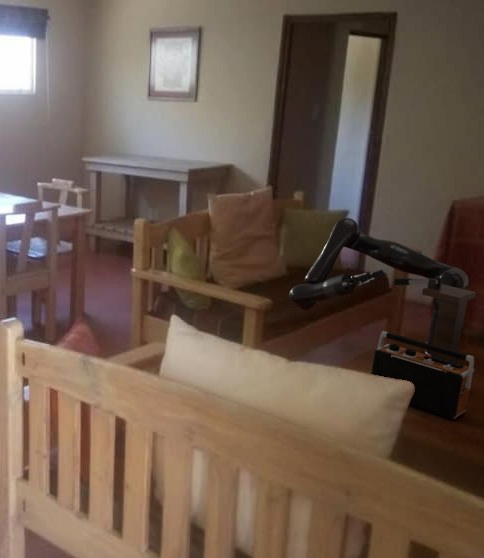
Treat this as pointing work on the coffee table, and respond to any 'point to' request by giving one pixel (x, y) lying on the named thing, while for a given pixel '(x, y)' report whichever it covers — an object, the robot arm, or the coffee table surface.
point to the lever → (411, 281)
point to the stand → (448, 315)
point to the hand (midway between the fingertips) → (377, 274)
